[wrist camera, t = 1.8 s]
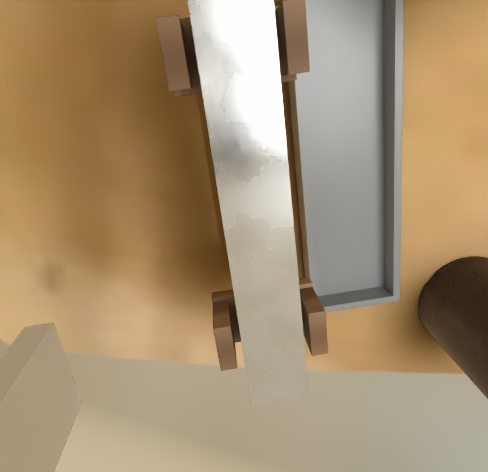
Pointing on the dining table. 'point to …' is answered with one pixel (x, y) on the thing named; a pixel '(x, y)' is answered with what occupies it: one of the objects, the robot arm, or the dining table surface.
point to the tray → (350, 151)
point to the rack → (188, 83)
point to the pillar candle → (460, 315)
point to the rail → (253, 187)
